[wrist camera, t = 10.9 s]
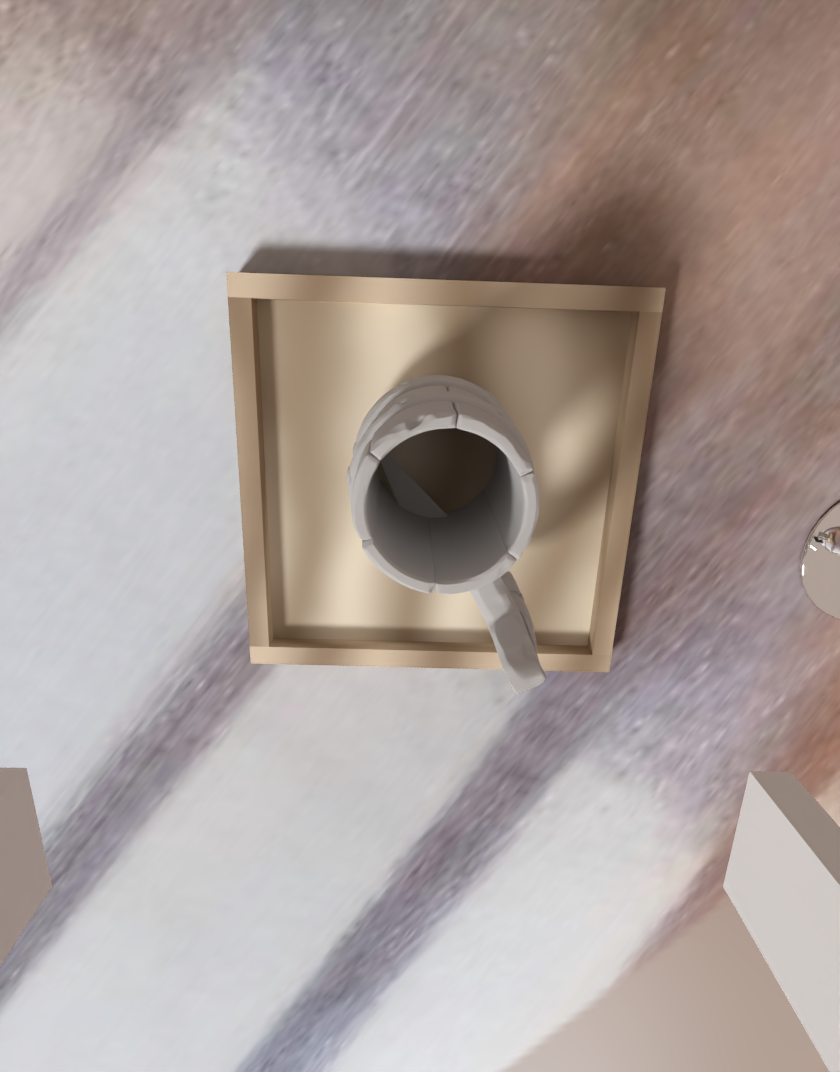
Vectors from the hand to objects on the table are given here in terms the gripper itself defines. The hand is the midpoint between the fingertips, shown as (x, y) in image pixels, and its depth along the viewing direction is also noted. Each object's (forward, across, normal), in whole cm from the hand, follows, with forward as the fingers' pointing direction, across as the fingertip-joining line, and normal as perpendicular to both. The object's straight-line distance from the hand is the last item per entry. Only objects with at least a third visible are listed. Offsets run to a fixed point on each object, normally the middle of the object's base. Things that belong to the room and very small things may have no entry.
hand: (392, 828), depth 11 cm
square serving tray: (+21, +2, +2) cm, 21 cm away
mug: (+20, +3, +2) cm, 21 cm away
